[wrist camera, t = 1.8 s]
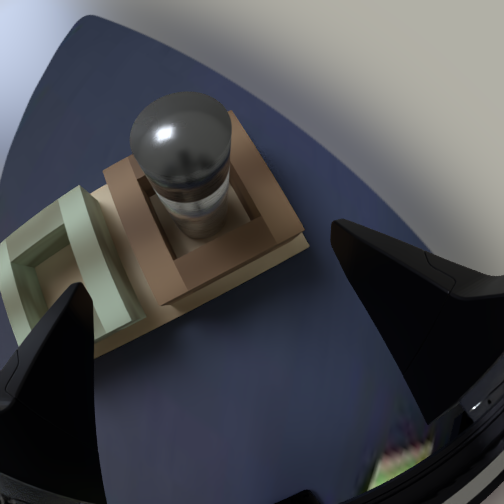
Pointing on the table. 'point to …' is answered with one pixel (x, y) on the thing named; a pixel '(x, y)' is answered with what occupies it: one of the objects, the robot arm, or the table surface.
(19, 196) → the table surface
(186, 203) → the shiny grey rounded piece
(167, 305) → the wooden desk organizer
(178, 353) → the table surface
